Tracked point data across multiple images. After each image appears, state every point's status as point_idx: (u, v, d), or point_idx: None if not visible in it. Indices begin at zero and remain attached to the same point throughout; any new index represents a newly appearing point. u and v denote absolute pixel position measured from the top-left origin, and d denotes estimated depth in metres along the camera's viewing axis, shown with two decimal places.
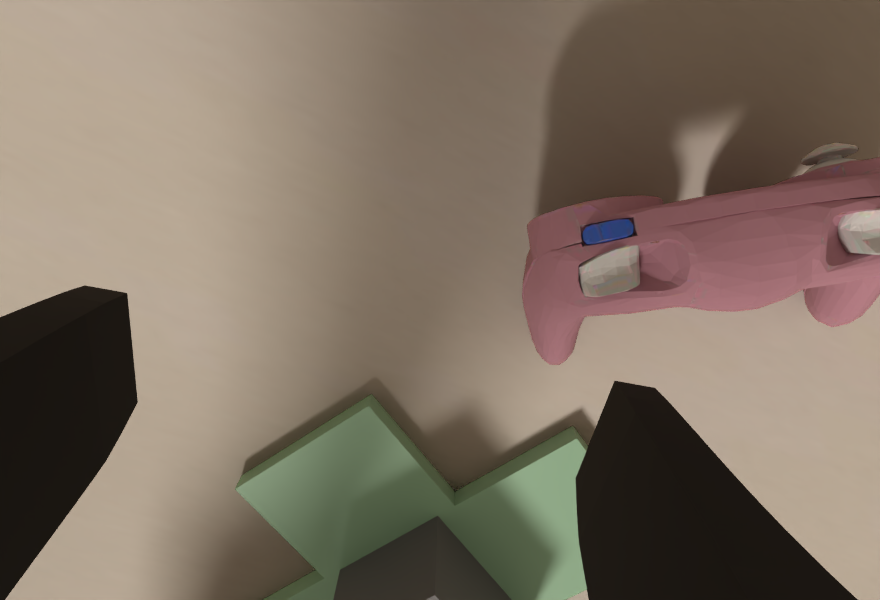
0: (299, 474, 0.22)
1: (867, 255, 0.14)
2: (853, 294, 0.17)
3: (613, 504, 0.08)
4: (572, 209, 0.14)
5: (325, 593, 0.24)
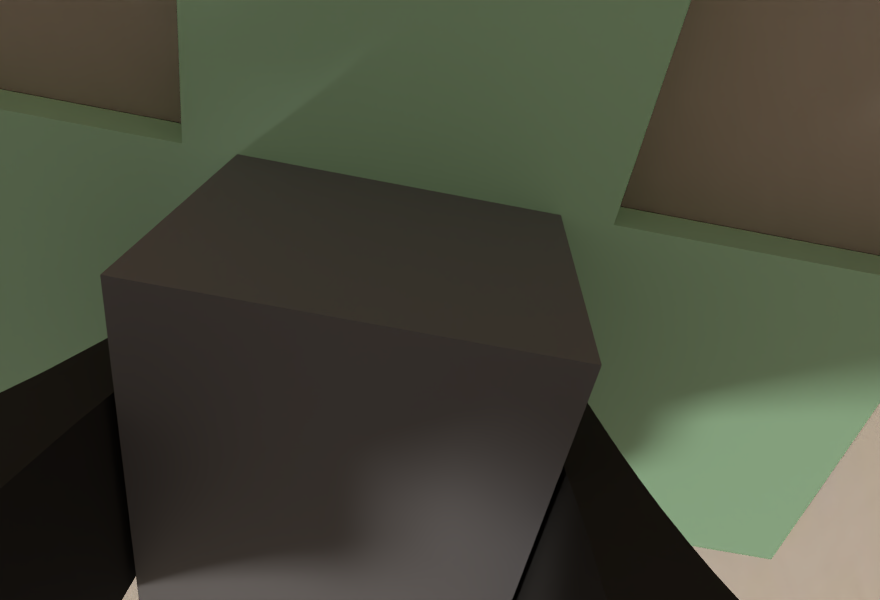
0: None
1: None
2: None
3: None
4: None
5: (149, 178, 0.09)
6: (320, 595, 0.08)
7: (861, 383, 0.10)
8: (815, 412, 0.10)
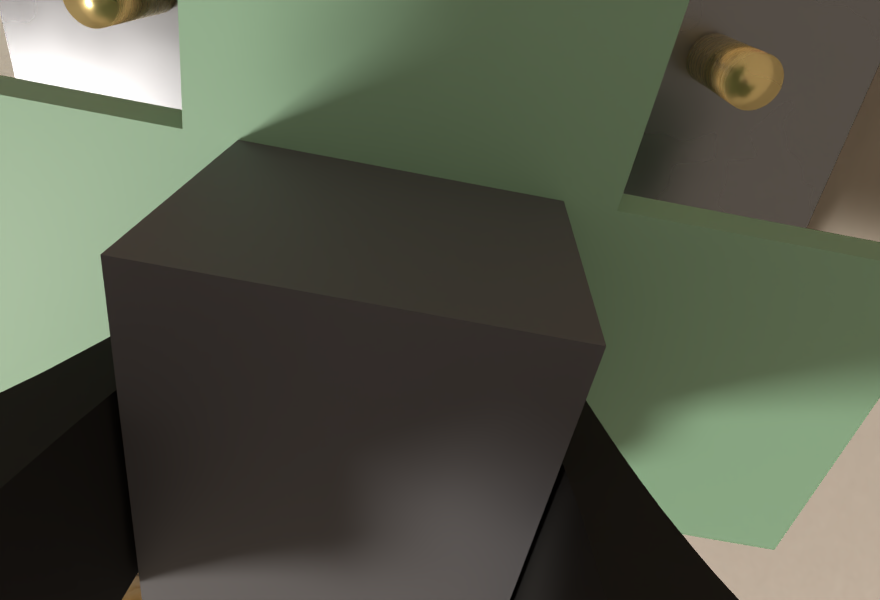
0: None
1: None
2: None
3: None
4: None
5: (150, 165, 0.09)
6: (322, 581, 0.08)
7: (865, 371, 0.10)
8: (819, 402, 0.10)
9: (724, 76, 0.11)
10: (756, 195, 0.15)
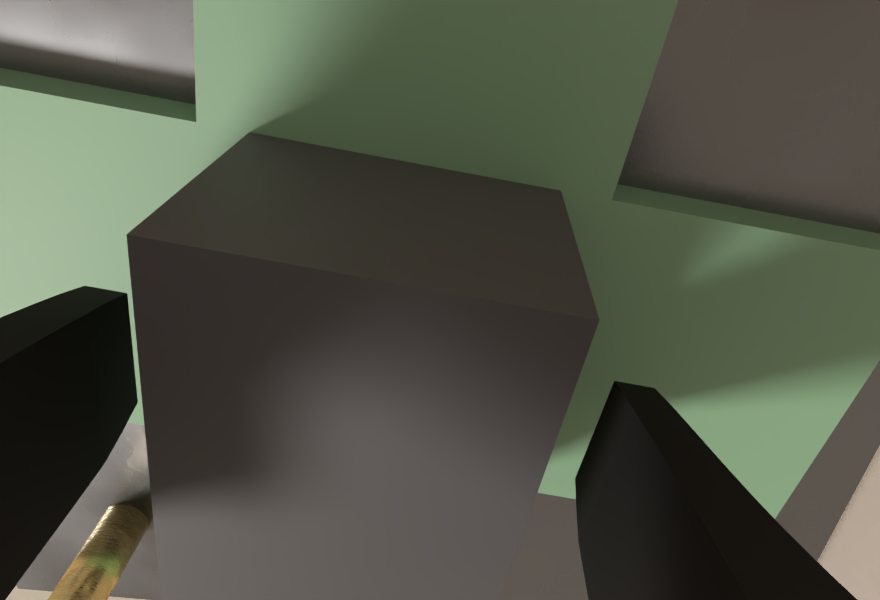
0: None
1: None
2: None
3: (613, 504, 0.08)
4: None
5: (165, 157, 0.09)
6: (330, 552, 0.08)
7: (852, 355, 0.10)
8: (808, 385, 0.10)
9: None
10: None
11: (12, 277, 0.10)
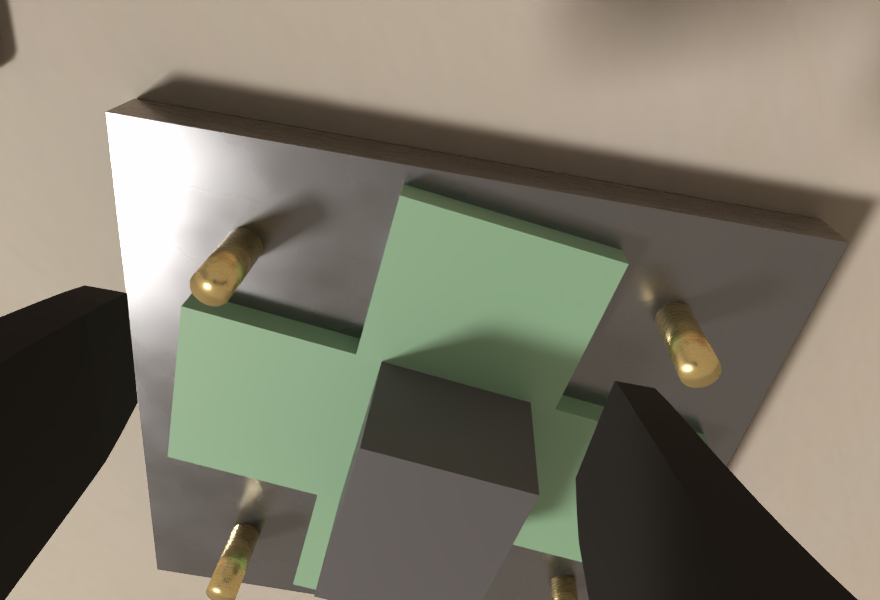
0: (480, 250, 0.16)
1: None
2: None
3: (613, 504, 0.08)
4: None
5: (335, 366, 0.18)
6: (407, 572, 0.17)
7: None
8: None
9: (679, 365, 0.15)
10: (706, 407, 0.19)
11: (234, 407, 0.19)
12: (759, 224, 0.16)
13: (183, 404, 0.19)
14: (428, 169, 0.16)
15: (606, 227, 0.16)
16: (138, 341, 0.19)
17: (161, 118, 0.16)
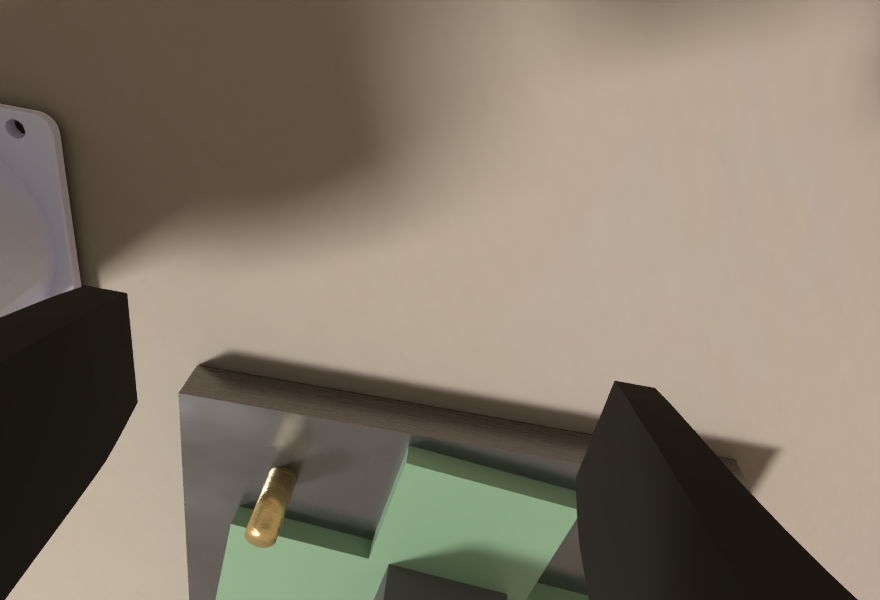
0: (467, 498, 0.20)
1: None
2: None
3: (613, 504, 0.08)
4: None
5: (352, 565, 0.23)
6: None
7: None
8: None
9: None
10: None
11: (268, 589, 0.24)
12: None
13: (227, 586, 0.24)
14: (428, 437, 0.20)
15: (565, 477, 0.21)
16: (191, 535, 0.24)
17: (221, 395, 0.20)
